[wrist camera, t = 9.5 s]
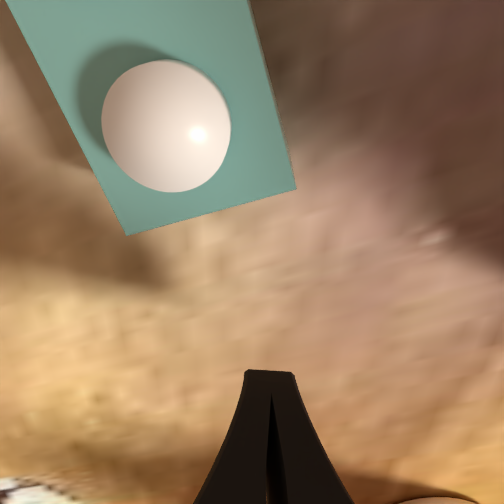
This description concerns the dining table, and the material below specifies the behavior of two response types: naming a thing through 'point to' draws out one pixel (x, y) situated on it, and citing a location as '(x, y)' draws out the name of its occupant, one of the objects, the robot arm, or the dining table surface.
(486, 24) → the dining table surface
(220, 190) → the teal block
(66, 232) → the dining table surface
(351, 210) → the dining table surface
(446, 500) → the milk bottle
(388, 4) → the dining table surface
